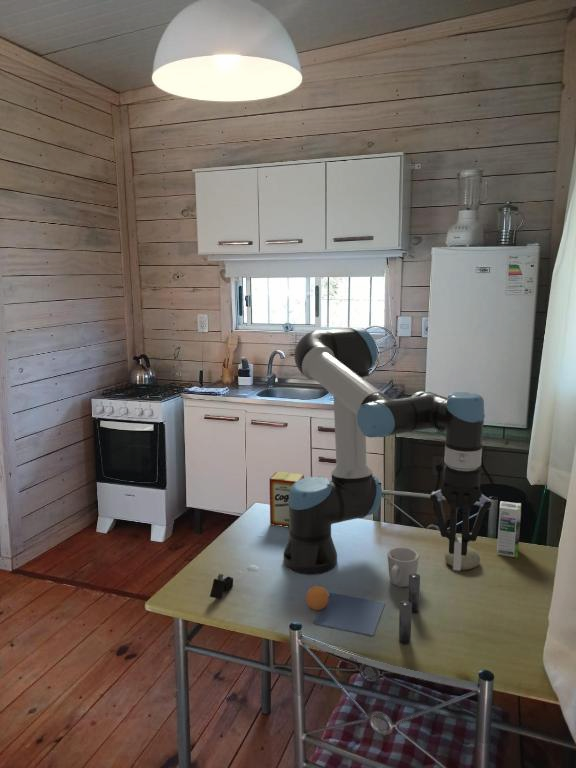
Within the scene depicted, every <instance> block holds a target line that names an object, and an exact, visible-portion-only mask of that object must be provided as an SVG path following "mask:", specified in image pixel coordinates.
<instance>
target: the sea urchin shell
mask: <svg viewBox="0 0 576 768" xmlns="http://www.w3.org/2000/svg"><path fill="white" fill-rule="evenodd" d="M444 561H445V563H446V564H447V565H449V566H451V567H452V568H453V562H454V554H450V553H449V547H447V549H446V550H445V552H444ZM480 561H481V558H480V555H479V553H478V552H477V551H476V549H474V548H473V547H472V546H470V545H469V544H468V545H467V554H466V556H464V555H462V557H461V568H460V570H463V571H466V570H472V569H475V568H477V567H478V566H479V565H480V563H481V562H480Z"/></svg>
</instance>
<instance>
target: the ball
mask: <svg viewBox="0 0 576 768" xmlns="http://www.w3.org/2000/svg"><path fill="white" fill-rule="evenodd" d="M305 600H306V604H307V606H309V608H310V609H312V610H314V611H321V609H323V608H325V607H326V605H327V604H328V600H329V593H328V591H327V590H326V589H325V588H324V587H323V586H320V585H314V586H312V587H311V588H309V589H308V590H307V592H306V594H305Z"/></svg>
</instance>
